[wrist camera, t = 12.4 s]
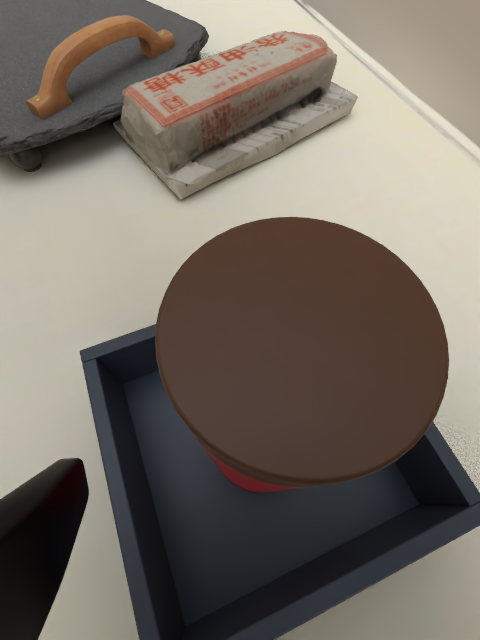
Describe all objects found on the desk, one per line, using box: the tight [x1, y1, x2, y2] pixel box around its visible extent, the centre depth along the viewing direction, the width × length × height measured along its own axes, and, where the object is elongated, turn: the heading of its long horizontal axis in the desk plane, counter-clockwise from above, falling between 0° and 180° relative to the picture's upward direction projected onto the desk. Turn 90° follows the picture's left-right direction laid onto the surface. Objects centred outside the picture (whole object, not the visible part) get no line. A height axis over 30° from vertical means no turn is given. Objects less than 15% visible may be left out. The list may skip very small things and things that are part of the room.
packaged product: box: [113, 31, 358, 200], centre depth 27 cm, size 18×5×10 cm
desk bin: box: [80, 324, 480, 640], centre depth 15 cm, size 12×12×5 cm
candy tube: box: [155, 217, 449, 493], centre depth 11 cm, size 5×5×12 cm
